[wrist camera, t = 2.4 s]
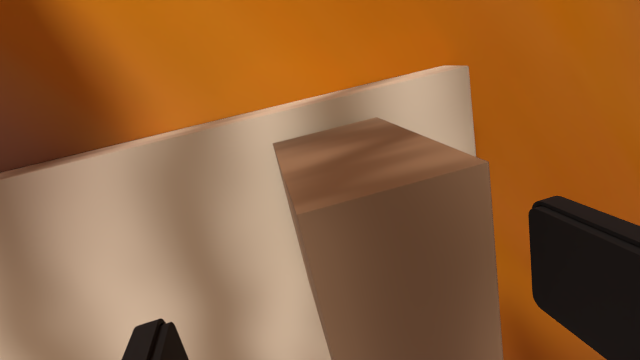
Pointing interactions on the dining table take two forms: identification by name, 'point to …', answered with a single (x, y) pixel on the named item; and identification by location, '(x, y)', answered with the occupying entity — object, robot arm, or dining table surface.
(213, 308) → the board
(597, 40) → the dining table surface
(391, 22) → the dining table surface
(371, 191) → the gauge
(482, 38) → the dining table surface
